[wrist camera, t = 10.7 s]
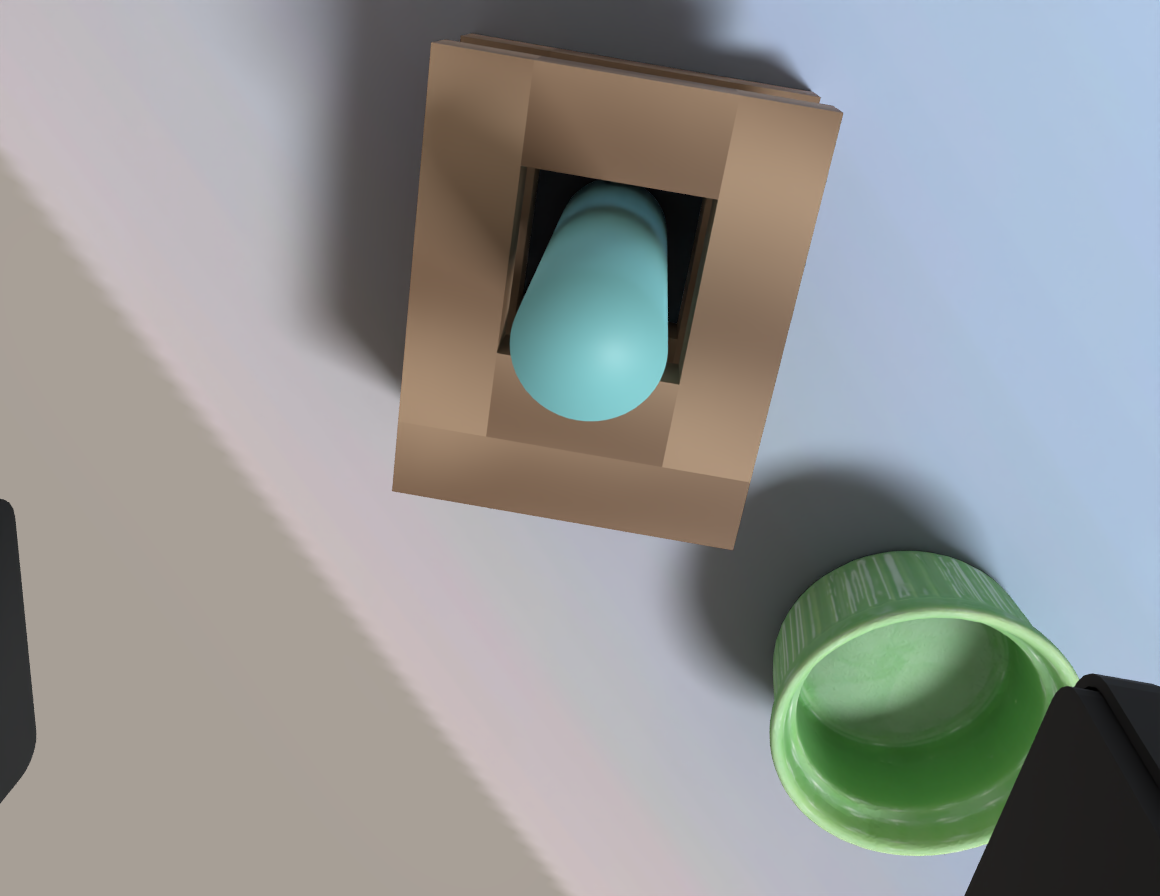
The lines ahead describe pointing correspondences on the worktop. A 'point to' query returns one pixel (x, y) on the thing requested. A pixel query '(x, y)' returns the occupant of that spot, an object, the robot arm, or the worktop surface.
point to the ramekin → (908, 702)
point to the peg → (597, 306)
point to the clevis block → (695, 343)
